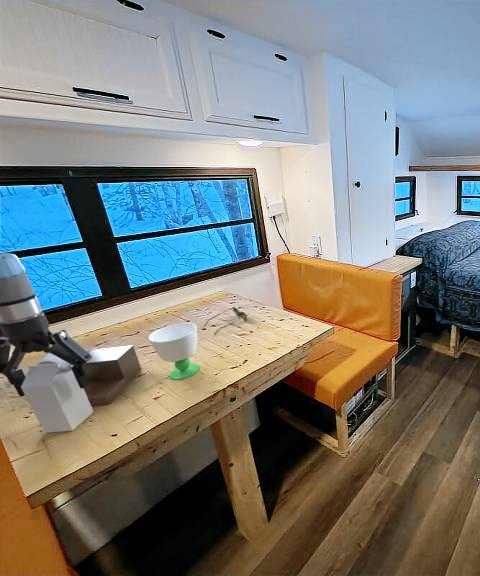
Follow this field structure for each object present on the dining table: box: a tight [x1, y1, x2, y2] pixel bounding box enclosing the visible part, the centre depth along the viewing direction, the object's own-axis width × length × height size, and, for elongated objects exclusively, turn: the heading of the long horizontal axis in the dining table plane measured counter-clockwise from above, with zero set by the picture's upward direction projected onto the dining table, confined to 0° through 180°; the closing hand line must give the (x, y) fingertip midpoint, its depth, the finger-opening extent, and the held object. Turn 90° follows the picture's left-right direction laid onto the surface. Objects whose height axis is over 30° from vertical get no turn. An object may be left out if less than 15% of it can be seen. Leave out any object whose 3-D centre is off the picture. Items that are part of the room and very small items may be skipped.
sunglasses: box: [204, 306, 248, 335], centre depth 140 cm, size 14×15×5 cm
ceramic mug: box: [36, 353, 77, 368], centre depth 107 cm, size 11×8×8 cm
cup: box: [148, 322, 201, 381], centre depth 104 cm, size 14×14×16 cm
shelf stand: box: [83, 344, 142, 408], centre depth 97 cm, size 12×18×10 cm, turn 11°
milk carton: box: [21, 364, 94, 434], centre depth 82 cm, size 7×7×19 cm
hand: (56, 389), depth 81 cm, fingers open, 13 cm apart
